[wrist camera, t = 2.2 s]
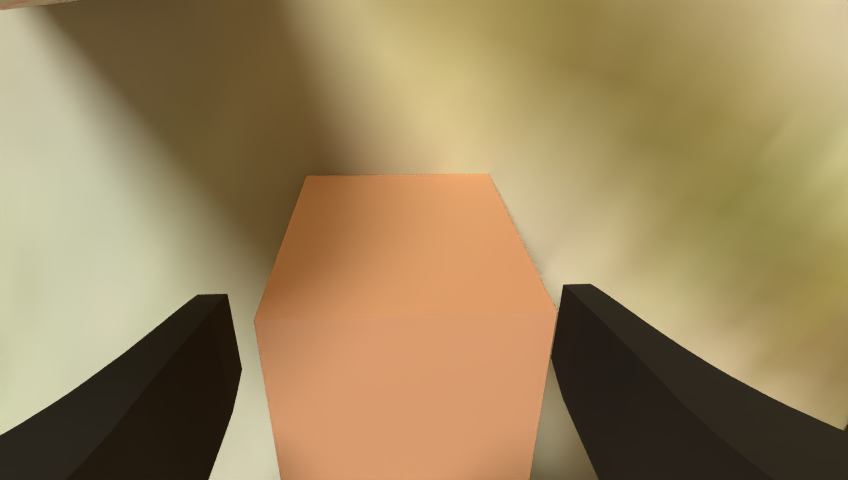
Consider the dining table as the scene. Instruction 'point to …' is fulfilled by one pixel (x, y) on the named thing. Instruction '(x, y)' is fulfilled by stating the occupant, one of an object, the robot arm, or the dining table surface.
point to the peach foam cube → (404, 333)
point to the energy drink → (27, 3)
